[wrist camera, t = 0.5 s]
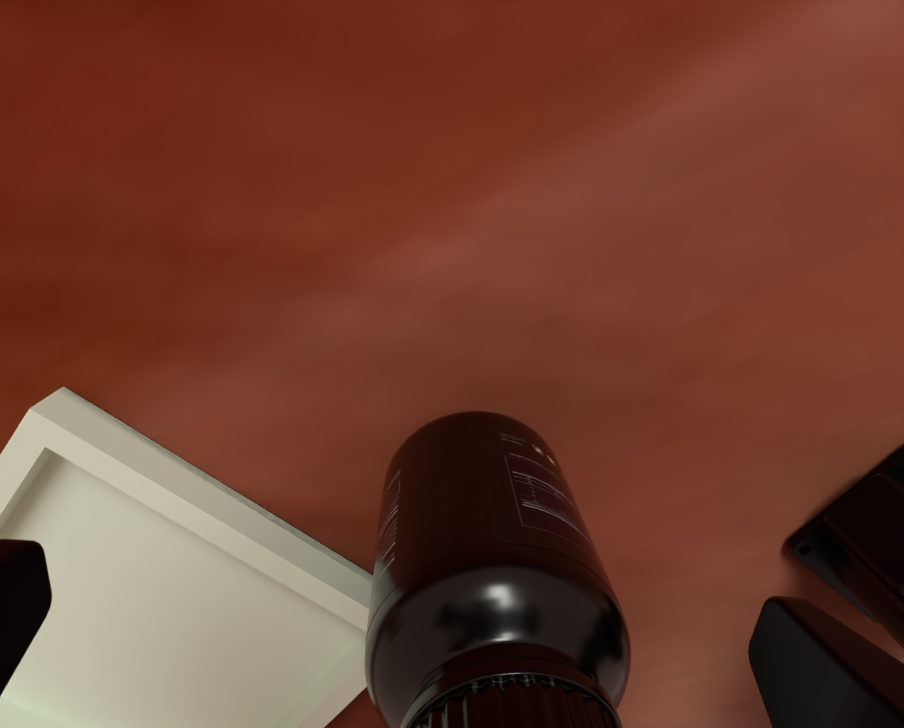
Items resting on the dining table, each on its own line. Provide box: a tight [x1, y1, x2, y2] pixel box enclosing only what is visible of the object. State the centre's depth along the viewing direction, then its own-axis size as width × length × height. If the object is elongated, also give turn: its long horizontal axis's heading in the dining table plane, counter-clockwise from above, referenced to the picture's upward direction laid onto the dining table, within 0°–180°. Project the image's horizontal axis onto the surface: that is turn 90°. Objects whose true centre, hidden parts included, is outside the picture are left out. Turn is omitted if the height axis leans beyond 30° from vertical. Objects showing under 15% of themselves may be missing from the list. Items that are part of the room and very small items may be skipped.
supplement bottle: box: [364, 411, 631, 728], centre depth 16 cm, size 7×7×12 cm
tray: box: [0, 386, 373, 728], centre depth 23 cm, size 16×16×2 cm
